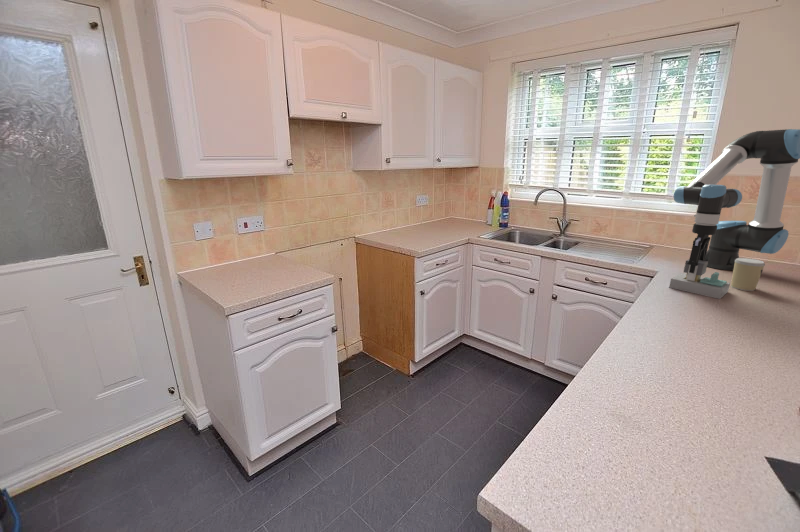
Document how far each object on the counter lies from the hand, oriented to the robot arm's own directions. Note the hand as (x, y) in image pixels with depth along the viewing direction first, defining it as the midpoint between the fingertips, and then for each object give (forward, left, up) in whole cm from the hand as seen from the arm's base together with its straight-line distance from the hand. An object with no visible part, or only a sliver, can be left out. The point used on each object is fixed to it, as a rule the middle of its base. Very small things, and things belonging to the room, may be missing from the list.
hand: (693, 278), depth 156 cm
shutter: (0, +7, 0) cm, 7 cm away
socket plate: (0, +2, -4) cm, 5 cm away
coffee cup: (-18, +13, -5) cm, 23 cm away
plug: (0, 0, -2) cm, 2 cm away
